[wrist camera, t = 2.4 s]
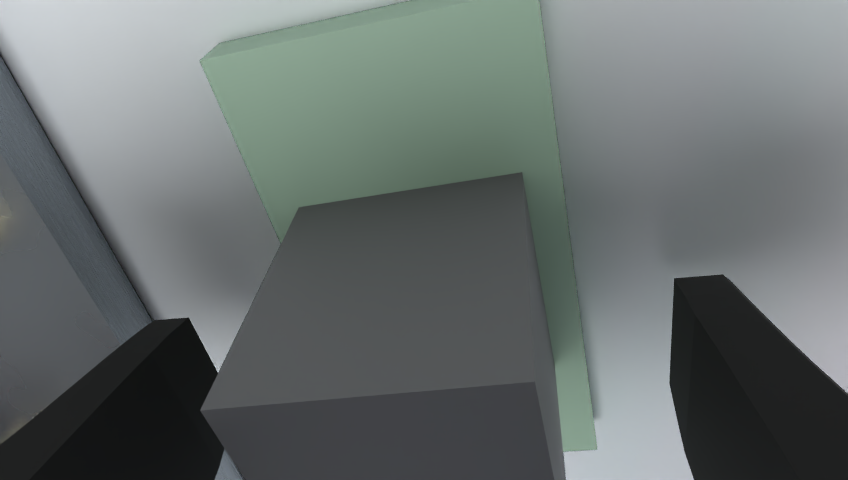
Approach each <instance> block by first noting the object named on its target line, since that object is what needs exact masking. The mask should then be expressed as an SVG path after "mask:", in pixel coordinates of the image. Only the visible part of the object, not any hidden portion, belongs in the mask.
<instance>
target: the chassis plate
mask: <svg viewBox="0 0 848 480" xmlns="http://www.w3.org/2000/svg"><path fill="white" fill-rule="evenodd" d="M151 322H152V320H151V318H150V316H149V314H148V313H147V311H146V309H145V307H144V306H143V304H142V302H141V300H140V299H139V297H138V295H137V293H136V292H135V290H134V288H133V286H132V285H131V283H130V281H129V279H128V278H127V276H126V274H125V273H124V271H123V269H122V267H121V266H120V264H119V262H118V260H117V259H116V257H115V255H114V253H113V252H112V250H111V248H110V246H109V245H108V243H107V241H106V239H105V238H104V236H103V234H102V232H101V231H100V229H99V227H98V225H97V224H96V222H95V220H94V218H93V217H92V215H91V213H90V211H89V210H88V208H87V206H86V204H85V203H84V201H83V199H82V198H81V196H80V194H79V192H78V191H77V189H76V187H75V185H74V184H73V182H72V180H71V178H70V177H69V175H68V173H67V171H66V170H65V168H64V166H63V164H62V163H61V161H60V159H59V157H58V156H57V154H56V152H55V150H54V149H53V147H52V145H51V143H50V142H49V140H48V138H47V136H46V135H45V133H44V131H43V129H42V128H41V126H40V124H39V123H38V121H37V119H36V117H35V116H34V114H33V112H32V110H31V109H30V107H29V105H28V103H27V102H26V100H25V98H24V96H23V95H22V93H21V91H20V89H19V88H18V86H17V84H16V82H15V81H14V79H13V77H12V75H11V74H10V72H9V70H8V68H7V67H6V65H5V63H4V61H3V60H2V58H1V56H0V444H2V443H3V442H4V441H5V440H7V439H8V438H9V437H10V436H12V435H13V434H14V433H16V432H17V431H18V430H19V429H21V428H22V427H23V426H24V425H26V424H27V423H28V422H29V421H30V420H32V419H33V418H34V417H35V416H36V415H38V414H39V413H40V412H41V411H42V410H44V409H45V408H46V407H47V406H48V405H50V404H51V403H52V402H53V401H54V400H56V399H57V398H58V397H59V396H60V395H62V394H63V393H64V392H65V391H66V390H68V389H69V388H70V387H71V386H72V385H74V384H75V383H76V382H77V381H78V380H80V379H81V378H82V377H83V376H84V375H86V374H87V373H88V372H89V371H90V370H92V369H93V368H94V367H95V366H96V365H98V364H99V363H100V362H101V361H102V360H104V359H105V358H106V357H107V356H108V355H110V354H111V353H112V352H113V351H115V350H116V349H117V348H118V347H119V346H121V345H122V344H123V343H124V342H126V341H127V340H128V339H129V338H131V337H132V336H133V335H135V334H136V333H137V332H139V331H140V330H141V329H143V328H144V327H145V326H147V325H148V324H150V323H151ZM215 480H243V478H242V477H241V475H240V473H239V471H238V470H237V468H236V466H235V464H234V463H233V461H232V459H231V458H230V456H229V454H228V453H227V451H226V450H225V449H224V452H223V456H222V459H221V463H220V467H219V469H218V472H217V475H216V477H215Z"/></svg>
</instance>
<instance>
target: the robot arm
mask: <svg viewBox="0 0 848 480" xmlns="http://www.w3.org/2000/svg"><path fill="white" fill-rule="evenodd" d="M217 375H218V372H217V370H216V369H215V367H214V365H213V363H212V361H211V359H210V357H209V355H208V353H207V352H206V350H205V348H204V346H203V344H202V342H201V340H200V338H199V336H198V335H197V333H196V331H195V329H194V327H193V325H192V323H191V321H190V319H189V318H179V319H166V320H154V321H152V322H151V323H150V324H148V325H147V326H145V327H144V328H143V329H141V330H140V331H139V332H137V333H136V334H135V335H133V336H132V337H131V338H129V339H128V340H127V341H126V342H124V343H123V344H122V345H121V346H119V347H118V348H117V349H116V350H115V351H113V352H112V353H111V354H110V355H108V356H107V357H106V358H105V359H104V360H102V361H101V362H100V363H99V364H98V365H96V366H95V367H94V368H93V369H92V370H90V371H89V372H88V373H87V374H86V375H84V376H83V377H82V378H81V379H80V380H78V381H77V382H76V383H75V384H74V385H72V386H71V387H70V388H69V389H68V390H66V391H65V392H64V393H63V394H62V395H60V396H59V397H58V398H57V399H56V400H54V401H53V402H52V403H51V404H50V405H48V406H47V407H46V408H45V409H44V410H42V411H41V412H40V413H39V414H38V415H36V416H35V417H34V418H33V419H32V420H30V421H29V422H28V423H27V424H26V425H24V426H23V427H22V428H21V429H19V430H18V431H17V432H16V433H14V434H13V435H12V436H10V437H9V438H8V439H7V440H5V441H4V442H3V443H2V444H0V480H215V477H216V475H217V472H218V469H219V467H220V463H221V459H222V456H223V452H224V449H225V448H224V447H223V445H222V444H221V442H220V441H219V439H218V437H217V436H216V434H215V433H214V431H213V430H212V428H211V427H210V425H209V424H208V422H207V420H206V419H205V417H204V416H203V414H202V413H201V411H200V410H201V407H202V405H203V403H204V401H205V399H206V397H207V395H208V393H209V391H210V389H211V387H212V385H213V383H214V381H215V379H216V377H217ZM670 388H671V392H672V397H673V402H674V406H675V411H676V416H677V420H678V425H679V429H680V433H681V438H682V442H683V446H684V450H685V454H686V457H687V460H688V463H689V466H690V469H691V472H692V475H693V478H694V480H848V393H846V392H845V391H844V390H843V389H842V388H841V387H840V386H839V385H838V384H837V383H835V382H834V381H833V380H832V379H831V378H830V377H829V376H828V375H827V374H825V373H824V372H823V371H822V370H821V369H820V368H819V367H818V366H817V365H815V364H814V363H813V362H812V361H811V360H810V359H809V358H808V357H807V356H806V355H805V354H804V353H803V352H802V351H801V350H800V349H798V348H797V347H796V346H795V345H794V344H793V343H792V342H791V341H790V340H789V339H788V338H787V337H786V336H785V335H784V334H783V333H782V332H781V331H780V330H779V329H778V328H777V327H776V326H775V325H774V324H773V323H772V322H771V321H770V320H769V319H768V318H767V317H766V316H765V315H764V314H763V313H762V312H761V311H760V310H759V309H758V308H757V307H756V306H755V305H754V304H753V303H752V302H751V301H750V300H749V299H748V298H747V297H746V296H745V295H744V294H743V293H742V292H741V291H740V290H739V289H738V288H737V287H736V286H735V285H734V284H733V283H732V282H731V281H730V280H729V279H728V278H726V277H725V276H724V275H711V276H699V277H687V278H674V296H673V318H672V339H671V361H670Z"/></svg>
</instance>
